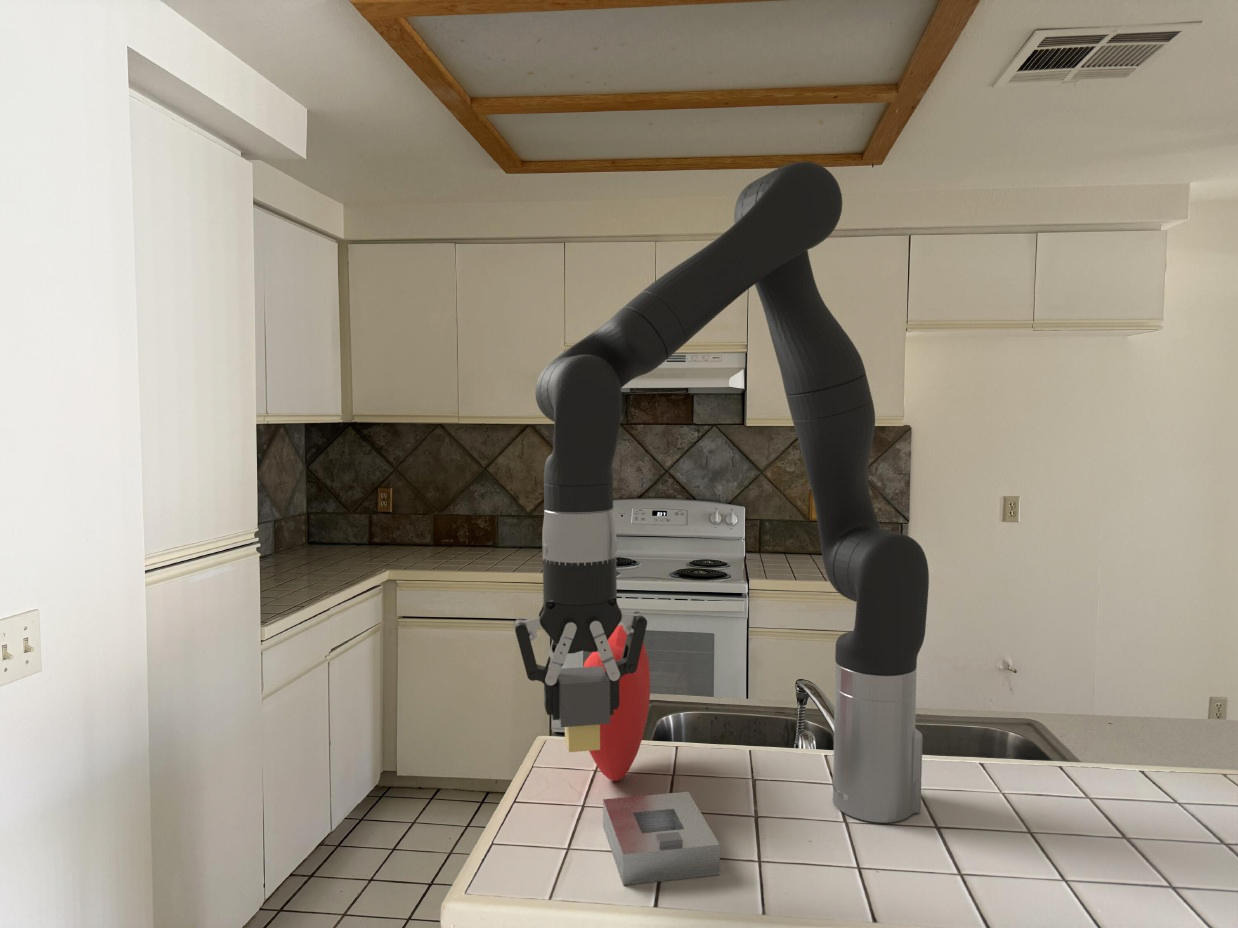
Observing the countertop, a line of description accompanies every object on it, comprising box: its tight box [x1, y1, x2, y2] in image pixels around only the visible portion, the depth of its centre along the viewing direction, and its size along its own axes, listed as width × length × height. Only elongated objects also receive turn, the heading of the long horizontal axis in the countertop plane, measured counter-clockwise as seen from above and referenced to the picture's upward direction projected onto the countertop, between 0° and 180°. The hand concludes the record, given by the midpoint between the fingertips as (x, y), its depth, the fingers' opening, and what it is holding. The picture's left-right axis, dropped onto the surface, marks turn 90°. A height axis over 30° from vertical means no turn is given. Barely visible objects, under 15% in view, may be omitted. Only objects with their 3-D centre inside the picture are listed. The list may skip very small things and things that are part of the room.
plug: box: [557, 666, 610, 753], centre depth 88 cm, size 5×5×7 cm
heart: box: [583, 624, 651, 782], centre depth 108 cm, size 20×9×19 cm, turn 172°
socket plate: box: [602, 791, 721, 886], centre depth 91 cm, size 10×12×4 cm
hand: (581, 714), depth 88 cm, fingers closed on plug, 5 cm apart
